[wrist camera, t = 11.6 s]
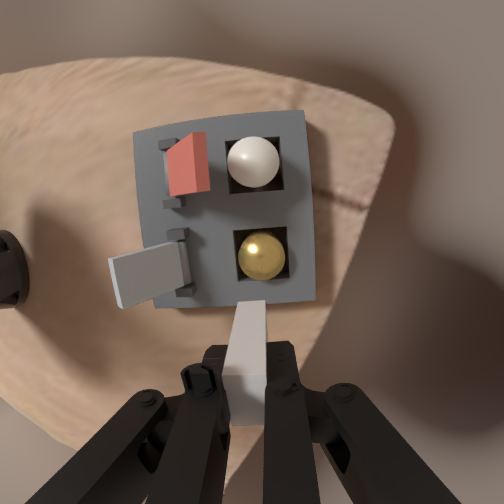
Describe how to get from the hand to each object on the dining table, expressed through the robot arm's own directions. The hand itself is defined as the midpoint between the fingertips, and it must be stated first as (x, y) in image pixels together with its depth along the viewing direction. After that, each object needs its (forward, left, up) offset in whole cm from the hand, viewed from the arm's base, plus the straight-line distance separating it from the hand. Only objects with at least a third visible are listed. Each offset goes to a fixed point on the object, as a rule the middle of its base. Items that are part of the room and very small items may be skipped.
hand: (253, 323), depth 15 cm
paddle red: (-9, +10, -15) cm, 20 cm away
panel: (-4, +5, -19) cm, 20 cm away
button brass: (0, 0, -18) cm, 18 cm away
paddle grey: (-9, 0, -15) cm, 18 cm away
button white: (0, +10, -16) cm, 19 cm away
